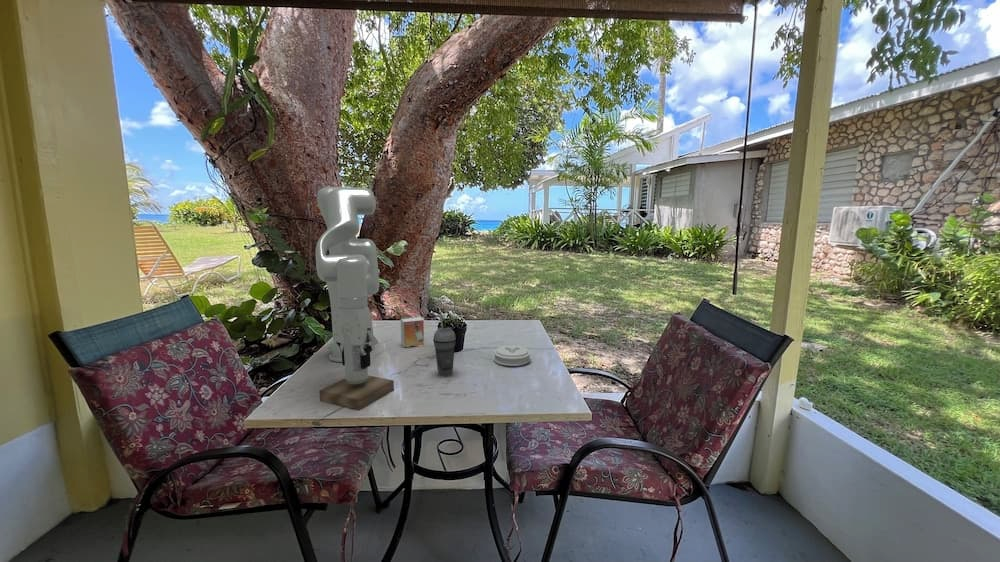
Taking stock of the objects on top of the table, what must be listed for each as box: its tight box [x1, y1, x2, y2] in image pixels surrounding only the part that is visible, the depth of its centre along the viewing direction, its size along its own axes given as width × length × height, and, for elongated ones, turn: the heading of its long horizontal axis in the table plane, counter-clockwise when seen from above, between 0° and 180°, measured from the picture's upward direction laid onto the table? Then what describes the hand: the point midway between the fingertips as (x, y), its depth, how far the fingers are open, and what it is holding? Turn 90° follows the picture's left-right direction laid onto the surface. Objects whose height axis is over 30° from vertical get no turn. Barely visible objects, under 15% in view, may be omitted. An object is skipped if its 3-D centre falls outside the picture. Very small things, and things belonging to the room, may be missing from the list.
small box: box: [400, 316, 425, 348], centre depth 163 cm, size 8×6×10 cm
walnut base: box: [319, 374, 395, 411], centre depth 117 cm, size 14×14×3 cm
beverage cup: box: [432, 312, 457, 378], centre depth 132 cm, size 7×7×20 cm
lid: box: [493, 344, 531, 367], centre depth 145 cm, size 13×13×5 cm
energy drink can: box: [344, 335, 369, 384], centre depth 115 cm, size 6×6×15 cm
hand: (356, 364), depth 116 cm, fingers closed on energy drink can, 6 cm apart
